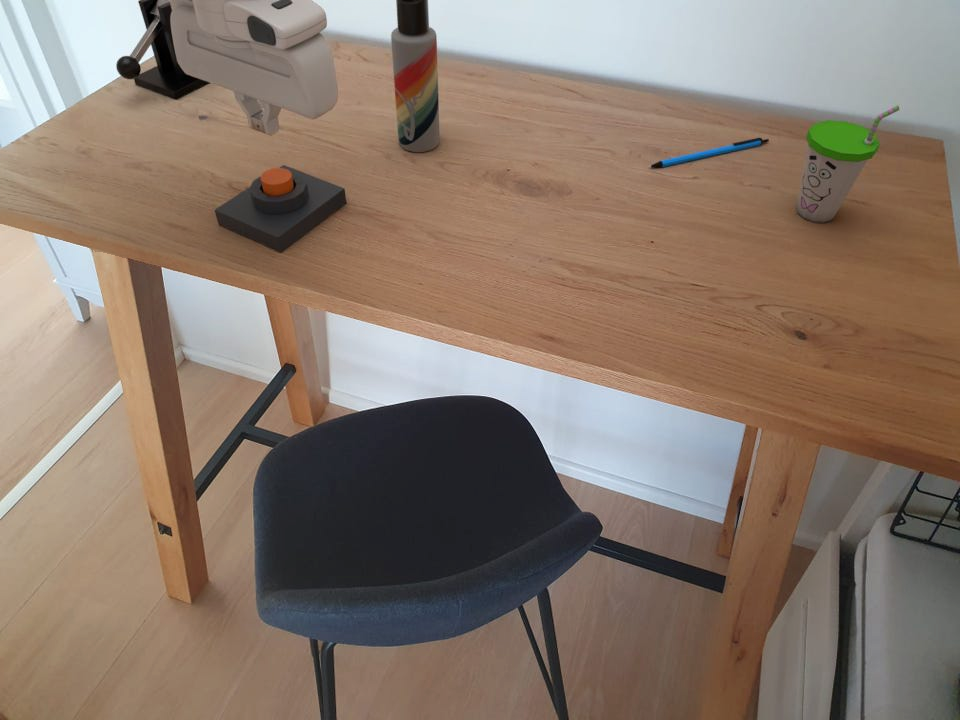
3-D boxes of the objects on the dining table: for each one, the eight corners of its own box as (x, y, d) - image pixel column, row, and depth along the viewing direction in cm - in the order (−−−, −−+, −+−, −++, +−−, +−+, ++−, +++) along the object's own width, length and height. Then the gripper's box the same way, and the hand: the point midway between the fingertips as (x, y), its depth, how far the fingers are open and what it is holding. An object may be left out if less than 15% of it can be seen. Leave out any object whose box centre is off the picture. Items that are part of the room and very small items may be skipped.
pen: (769, 144, 107) (771, 137, 106) (650, 171, 102) (652, 163, 101) (765, 141, 107) (767, 134, 107) (647, 167, 102) (648, 160, 101)
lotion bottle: (393, 150, 105) (381, -2, 90) (405, 129, 108) (396, -19, 94) (433, 155, 104) (427, 3, 89) (444, 135, 108) (440, -15, 93)
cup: (769, 207, 96) (806, 93, 85) (809, 188, 99) (850, 76, 88) (821, 238, 91) (867, 122, 81) (861, 217, 94) (911, 102, 84)
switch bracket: (176, 99, 114) (153, 19, 106) (135, 84, 117) (109, 5, 109) (230, 72, 121) (212, -6, 112) (189, 58, 124) (169, -19, 116)
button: (279, 200, 89) (276, 187, 88) (256, 191, 91) (253, 178, 90) (300, 186, 92) (298, 173, 90) (277, 177, 93) (275, 164, 92)
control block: (280, 252, 88) (274, 224, 85) (218, 225, 92) (210, 196, 89) (346, 203, 95) (343, 175, 93) (286, 179, 99) (281, 151, 96)
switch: (137, 86, 111) (122, 72, 108) (122, 81, 112) (107, 66, 109) (184, 15, 113) (171, -1, 110) (169, 10, 114) (155, -6, 111)
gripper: (142, -11, 78) (178, 116, 88) (295, 37, 70) (315, 169, 80) (189, -29, 82) (218, 95, 91) (339, 15, 74) (353, 144, 84)
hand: (265, 130), depth 86 cm, fingers closed
